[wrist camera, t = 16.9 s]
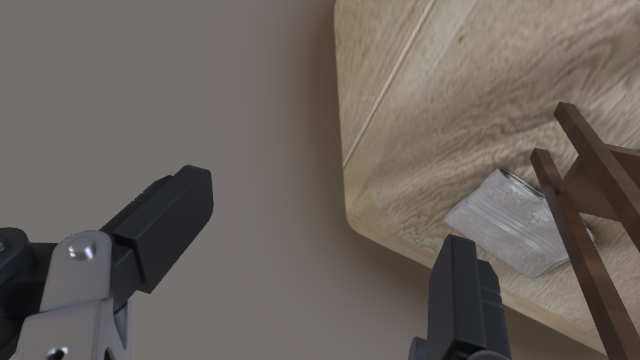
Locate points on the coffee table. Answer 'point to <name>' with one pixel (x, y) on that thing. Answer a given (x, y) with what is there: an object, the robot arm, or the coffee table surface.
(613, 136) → the coffee table surface
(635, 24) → the coffee table surface
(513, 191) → the washcloth
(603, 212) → the stand
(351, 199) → the coffee table surface
